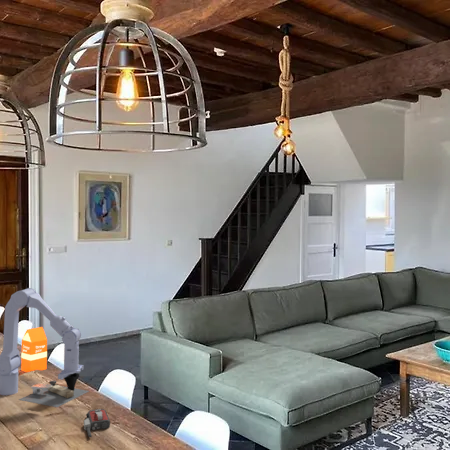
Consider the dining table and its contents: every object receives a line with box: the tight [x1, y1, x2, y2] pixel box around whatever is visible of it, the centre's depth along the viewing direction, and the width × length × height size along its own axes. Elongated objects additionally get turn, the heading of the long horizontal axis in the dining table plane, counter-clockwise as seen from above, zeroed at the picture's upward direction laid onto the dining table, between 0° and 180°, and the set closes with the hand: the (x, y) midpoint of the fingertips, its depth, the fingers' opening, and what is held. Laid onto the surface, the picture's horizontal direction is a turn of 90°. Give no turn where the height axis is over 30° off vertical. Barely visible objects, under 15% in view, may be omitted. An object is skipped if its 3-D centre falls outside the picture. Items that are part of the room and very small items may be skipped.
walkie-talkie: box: [83, 408, 111, 438], centre depth 176 cm, size 9×4×20 cm
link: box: [48, 380, 74, 398], centre depth 206 cm, size 14×3×4 cm, turn 51°
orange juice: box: [20, 326, 48, 373], centre depth 240 cm, size 8×9×20 cm
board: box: [18, 385, 90, 408], centre depth 204 cm, size 19×20×1 cm
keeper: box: [30, 383, 52, 395], centre depth 205 cm, size 4×7×4 cm, turn 78°
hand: (70, 391), depth 205 cm, fingers closed, pressing on link
